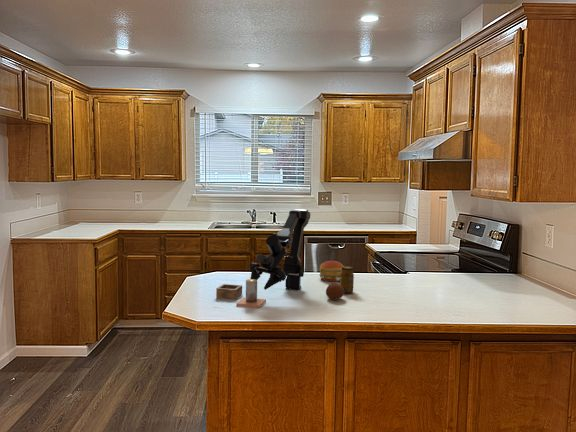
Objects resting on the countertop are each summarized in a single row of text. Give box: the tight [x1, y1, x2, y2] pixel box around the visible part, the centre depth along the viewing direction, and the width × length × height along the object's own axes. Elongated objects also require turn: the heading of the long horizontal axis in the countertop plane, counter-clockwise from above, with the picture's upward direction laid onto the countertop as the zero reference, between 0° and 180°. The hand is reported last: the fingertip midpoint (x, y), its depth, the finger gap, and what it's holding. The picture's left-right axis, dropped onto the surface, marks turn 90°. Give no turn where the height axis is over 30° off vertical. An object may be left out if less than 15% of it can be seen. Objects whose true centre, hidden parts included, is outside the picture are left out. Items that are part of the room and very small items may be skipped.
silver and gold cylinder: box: [245, 278, 258, 303], centre depth 224 cm, size 5×5×9 cm
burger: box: [319, 260, 345, 282], centre depth 274 cm, size 13×14×10 cm
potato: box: [325, 282, 345, 300], centre depth 235 cm, size 8×11×8 cm
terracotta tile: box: [235, 297, 267, 309], centre depth 224 cm, size 10×10×1 cm
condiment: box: [339, 265, 358, 296], centre depth 246 cm, size 7×8×12 cm
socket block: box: [215, 283, 243, 301], centre depth 236 cm, size 9×9×4 cm
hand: (257, 287), depth 226 cm, fingers open, 9 cm apart
